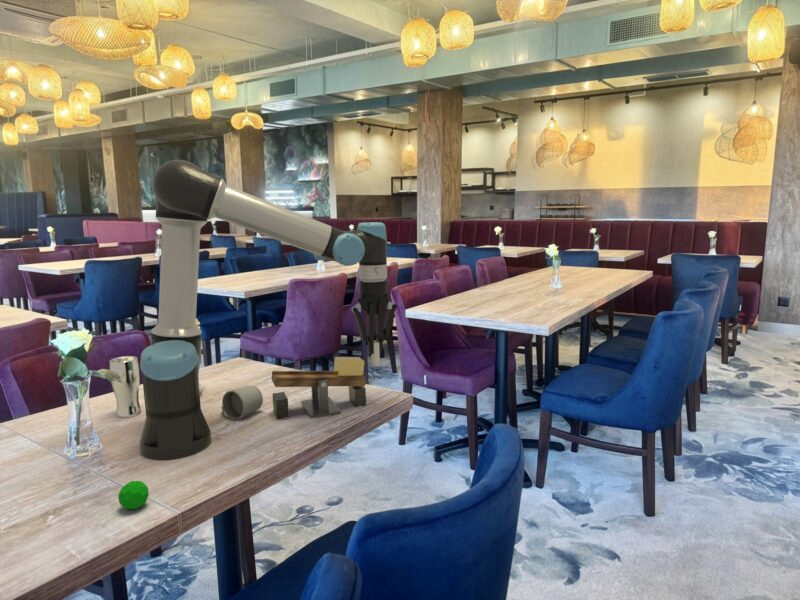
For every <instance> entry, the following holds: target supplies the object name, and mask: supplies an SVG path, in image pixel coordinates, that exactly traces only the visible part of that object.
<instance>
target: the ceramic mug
mask: <svg viewBox="0 0 800 600" xmlns="http://www.w3.org/2000/svg"><path fill="white" fill-rule="evenodd" d="M263 401H264V398H263V394H262V391H261V390H260V389H259V388H258V387H257V386H255V385H244V386H242V387H237V388H234V389H230V390H228V391H226V392H225V393H224V395H223V396H222V401H221V403H222V404H221V405H222V406H221V407H220V408H221V411H222V413H224V414H225V415H226V416H227V417H228V418H229V419H230V420H231V419H232V420H234V421H237V420H240V419H242V418H245V417H247V416H248V415H250V414H253V413H255V412H257V411H258V410H259V409H260V408H261V407H262V405H263Z"/></svg>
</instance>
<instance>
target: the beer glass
mask: <svg viewBox="0 0 800 600" xmlns="http://www.w3.org/2000/svg"><path fill="white" fill-rule="evenodd" d="M139 366H140V365H139V361H138V357H137V356H134V355H125V356H118V357H115V358H112V359H110V360H109V372H110V371H113V372H115V373H117V374H118V375H119V376H120V379H121V381H122V383H121V382H118V381H111V380H110V384H111V387H112V390H113V394H114V397H115V400H116V401H115V402H116V411H115V412H116V413H115V416H116V417H117V418H121V419H123V418H125V419H126V418H132V417H136V416H138V415H141V413H142V408H141V405H140V401H139V397H140V396H139V395H140V394H139V392H140V382H141V379H140V378H141V377H140V376H141V375H140V367H139Z"/></svg>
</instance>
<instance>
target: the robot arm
mask: <svg viewBox="0 0 800 600" xmlns="http://www.w3.org/2000/svg"><path fill="white" fill-rule="evenodd" d="M152 190H153V194H154V196H155V198H156V199H155V201H156V202H155V203H156V204H155V219H156V220H157V221H158V222H159V223H160V224H161V247H160V248H161V249H160V268H159V269H160V272H159V273H160V276H159V298H158V299H159V300H158V318H157V319H158V323H157V324H156V325H155V326H154V327H153V328H152V329H151V330H150V345H148V346H147V347H145V348H144V349H143V350H142V352H141V354H140V362H139V366H140V367H139V369H140V371H141V377H142V388H143V397H144V399H143V400H144V408H145V409H144V410H145V421H144V424H143V428H142V432H141V436H140V440H139V446H140V448H139V449H140V453H141V455H142V456H143V457H146V458H148V459H154V460H172V459H178V458H183V457H187V456H191V455H194V454H196V453H199V452H200V451H203V450H204V449H206V448H207V447H208V446H209V445H210V444H211V442H212V434H211V433H212V432H211V428H210V426H209V424H208V422H207V419H206V418H205V415H204V413H203V411H202V406H201V396H200V393H201V392H199V383H200V381H199V374H200V365H201V364H202V363H201V362H202V358H203V357H202V351H201V350H202V330H201V328H200V329H199V328H198V327H197V326H196V319H197V306H198V305H197V303H198V301H197V300H198V286H199V285H198V283H199V264H200V243H201V229H202V228H203V227H204V226H205V225H206V224H207V223H208V220H213V219H214V218H216V219H219V220H221V221H224V222H227V223H229V224H232V225H235V226H237V227H241V228H243V229H247V231H248V230H249V231H250V232H251V231H252V232H253V233H257V234H260V235H262V236H265V237H267V238H271V239H274V240H276V241H279V242H282V243H284V244H287V245H290V246H293V247H295V248H298V249H301V250H304V251H306V252H309V253H311V254H313V257H314V259H315V261H316V260H317V261H325V262H328V261H333V262H336V263H338V264H339V265H342V266H345V267H350V266H355V265H357V264H358V267H359V268H358V274H359V275H358V279H360V281H359V299H358V303H356V304H355V305H354V306H353V305H352V306H351V307H350V310H351V311H352V313H353V314H354V318H355V321H356V325H357V328H358V332H359V335H360V339H361V340H362V341H364V342H367V352H368V353H369V355H371V356H370V357H371V358H370V359H371V365H372V366H374V367H376V366H377V367H378V366H381V365H380V364H381V359H380V358H381V355H380V354H382V353H383V343H384V341H385V340H388V339H389V338H390V336H391V335H390V334H391V329H392V324H393V319H394V315H395V312H396V310H397V308H398V305H397V303H393V302H392V301H390V297H389V296H388V291H389V290H388V281H387V278H388V263H387V260H388V259H387V252H388V251H387V248H388V247H387V244H388V243H387V242H388V239H387V230H386V229H387V228H386V224H385V223H384V222H380V221H379V222H377V221H375V222H372V221H371V222H369V221H368V222H359V223H358V225H357V228H356V229H355V230H341V229H339V228H338V227H333V226H331V225H329V224H327V223H324V222H321V221H319V220H316V219H314V218H311V217H310V216H306V215H303V214H301V213H298V212H296V211H293V210H290V209H288V208H285V207H283V206H280V205H278V204H275V203H274V202H271V201H268V200H265V199H262V198H260V197H257V196H255V195H252V194H250V193H248V192H245V191H242V190H239V189H237V188H235V187H233V186H229V185H227V184H226V182H225V180H224V179H223V178H221V177H219V176H216V175H214V174H212V173H210V172H208V171H206V170H204V169H202V168H201V167H199V166H198V165H196V164H194V163H193V162H191V161H188V160H184V159H172V160H169V161H167V162H164V163H163V164H162V165H160V166H159V167H158V168H157V169H156V171H155V172H154V175H153V178H152ZM386 309H387V310H386ZM362 310H363V312H365V317H366V328H365V323H364V321H363V316H362V314H361V312H362ZM385 310H386V312H385V318H384V317H383V316H384V311H385ZM374 318H375V320H374ZM383 318H384V322H383ZM374 321H375V322H374ZM383 323H384V324H383ZM374 324H375V325H374ZM374 329H375V331H374ZM374 333H375V334H374ZM375 339H376V340H375Z"/></svg>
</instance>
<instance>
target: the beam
mask: <svg viewBox="0 0 800 600" xmlns="http://www.w3.org/2000/svg"><path fill="white" fill-rule="evenodd" d="M333 374H334V370H272V371H271V382H272V383H273V385H274V387H275V388H309V387H310V388H311V387H318V380H324V379H327V380H328V387H349V386H364V387H366V382H367V376H363V377H335V376H334V375H333Z"/></svg>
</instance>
